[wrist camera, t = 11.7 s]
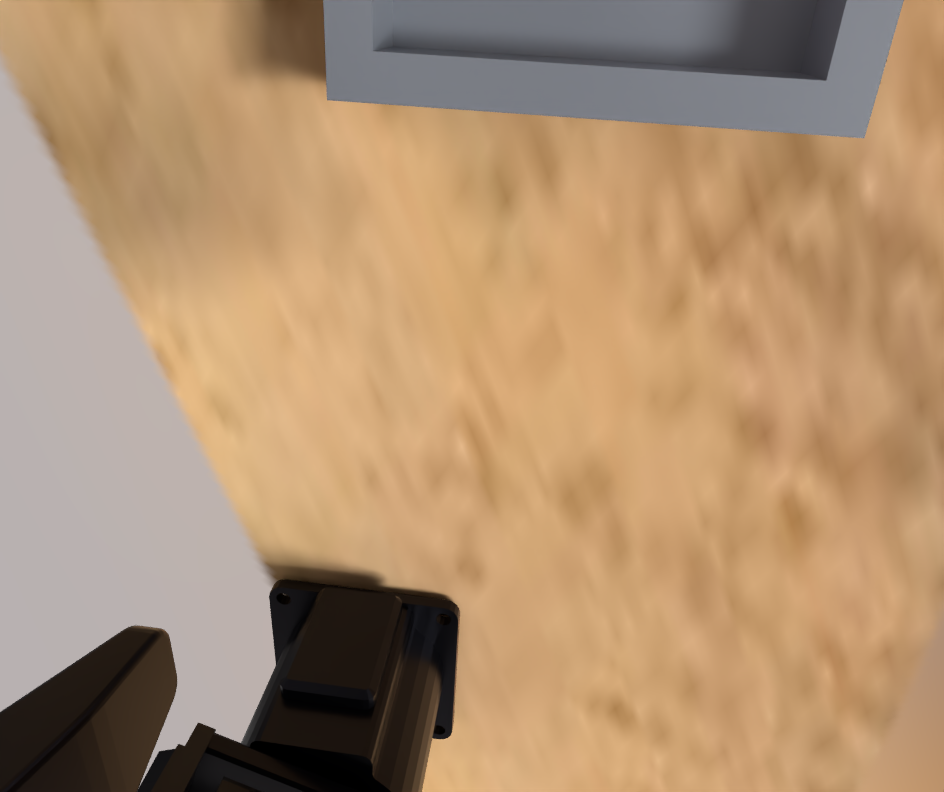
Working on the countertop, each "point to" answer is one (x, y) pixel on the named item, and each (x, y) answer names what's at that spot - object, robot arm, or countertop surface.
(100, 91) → the countertop surface
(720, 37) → the tray
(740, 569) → the countertop surface
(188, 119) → the countertop surface
